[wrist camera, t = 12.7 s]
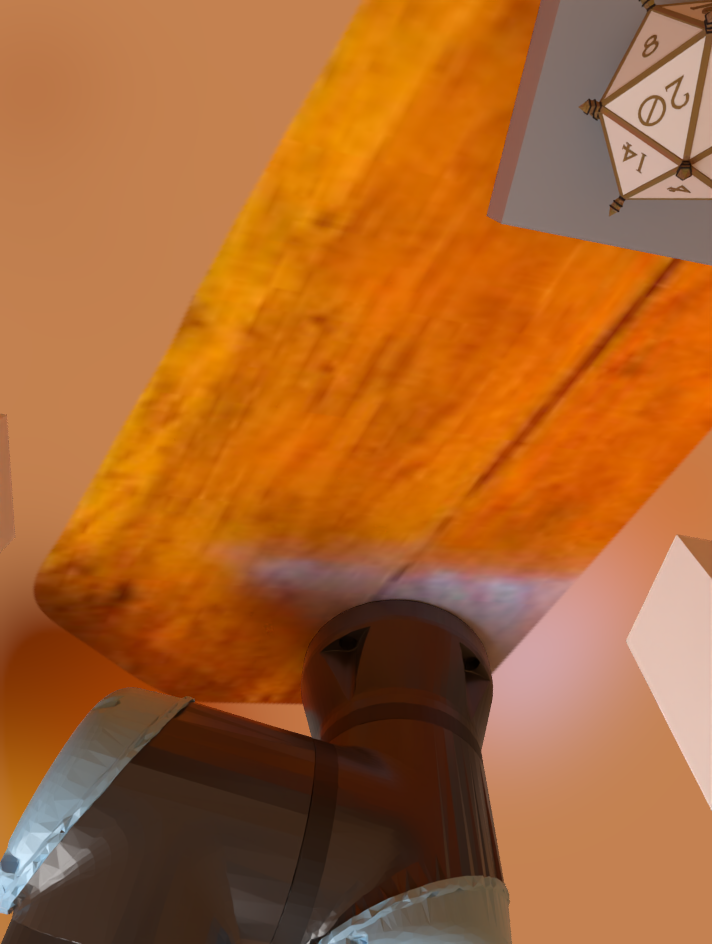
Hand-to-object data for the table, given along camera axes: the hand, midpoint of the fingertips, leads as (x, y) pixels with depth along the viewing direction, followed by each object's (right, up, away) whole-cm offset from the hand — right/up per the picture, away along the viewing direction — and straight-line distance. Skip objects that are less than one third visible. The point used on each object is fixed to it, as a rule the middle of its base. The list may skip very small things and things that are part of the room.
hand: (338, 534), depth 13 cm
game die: (+14, +18, +17) cm, 29 cm away
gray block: (+15, +20, +21) cm, 33 cm away
